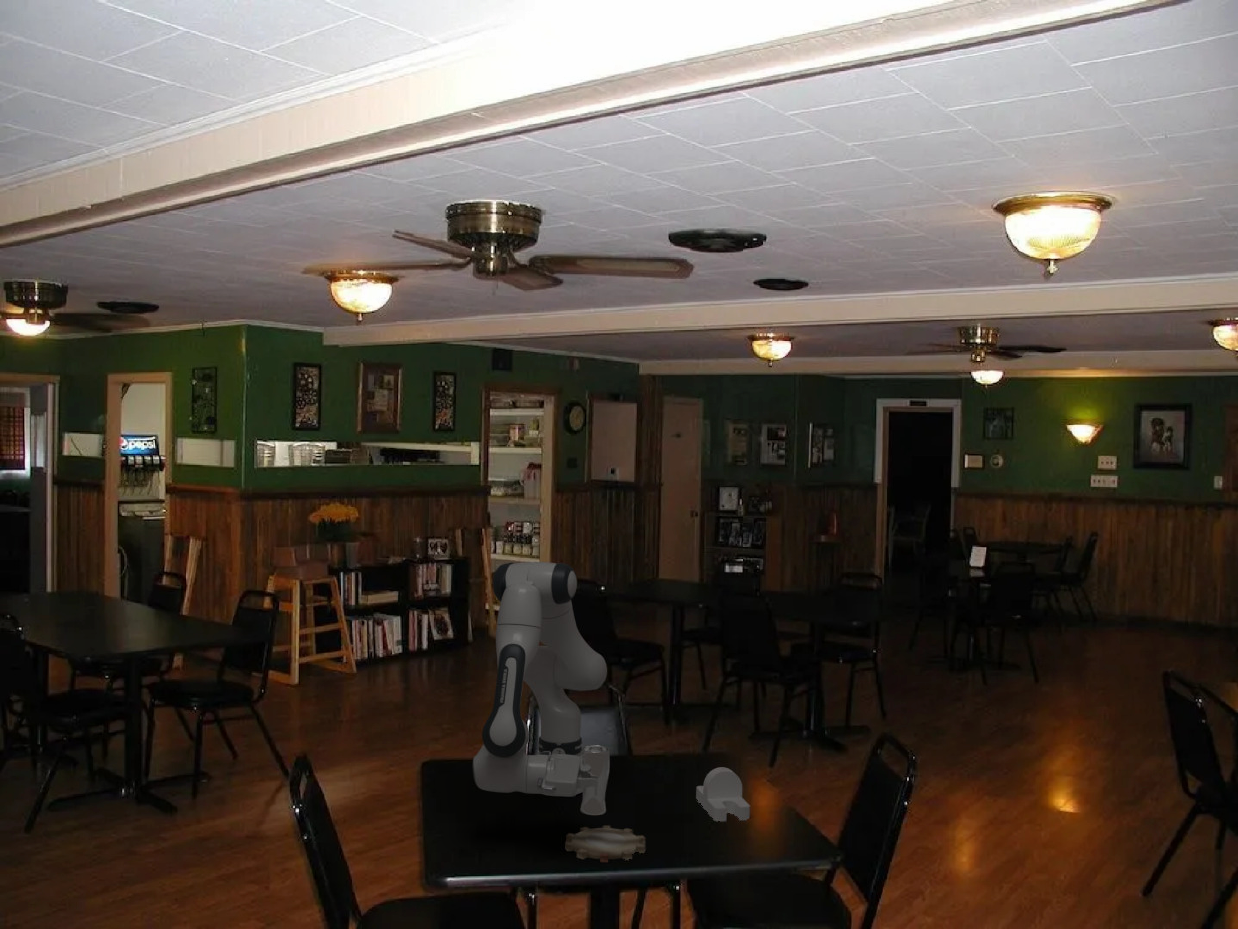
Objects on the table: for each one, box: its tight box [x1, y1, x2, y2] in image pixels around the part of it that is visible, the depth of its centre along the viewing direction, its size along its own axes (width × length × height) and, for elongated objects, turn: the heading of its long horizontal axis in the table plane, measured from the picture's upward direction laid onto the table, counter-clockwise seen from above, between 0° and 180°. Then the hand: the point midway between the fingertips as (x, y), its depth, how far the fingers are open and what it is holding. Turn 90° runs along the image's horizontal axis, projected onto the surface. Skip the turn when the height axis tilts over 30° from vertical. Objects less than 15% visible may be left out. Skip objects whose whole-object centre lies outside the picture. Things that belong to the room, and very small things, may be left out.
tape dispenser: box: [695, 766, 751, 822], centre depth 291 cm, size 10×18×11 cm, turn 13°
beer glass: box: [580, 744, 611, 816], centre depth 262 cm, size 7×7×15 cm
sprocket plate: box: [564, 824, 646, 863], centre depth 263 cm, size 19×19×2 cm
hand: (598, 776), depth 262 cm, fingers closed on beer glass, 6 cm apart
